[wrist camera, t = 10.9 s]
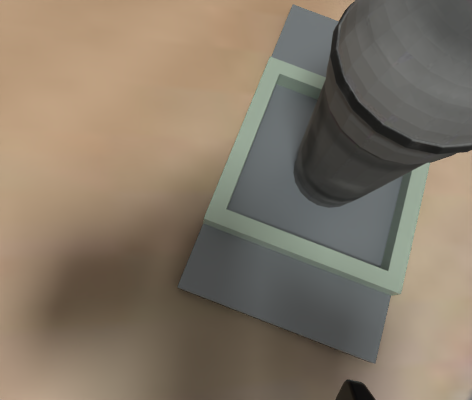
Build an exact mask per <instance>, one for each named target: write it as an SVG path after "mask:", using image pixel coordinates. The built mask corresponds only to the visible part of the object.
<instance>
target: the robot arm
mask: <svg viewBox="0 0 472 400" xmlns="http://www.w3.org/2000/svg"><path fill="white" fill-rule="evenodd" d="M335 400H375V398H374V397H373V395H372V394H371V393H370V391H369V390H368V388H367V387H366V386H365V385H364V384H363V383H362V382H358V381H353V380H346V381H345V382H344V384H343V386H342V388H341V389H340V391H339V393H338V395H337V397H336V399H335Z"/></svg>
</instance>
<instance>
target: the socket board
mask: <svg viewBox="0 0 472 400" xmlns="http://www.w3.org/2000/svg"><path fill="white" fill-rule="evenodd" d="M338 22H339V21H336V20H333V19H331V18H328V17H325V16H323V15H320V14H317V13H315V12H312V11H309V10H307V9H304V8H301V7H299V6H296V5H292V8H291V10H290V13H289V15H288V17H287V20H286V22H285V25H284V27H283V30H282V32H281V35H280V37H279V39H278V42H277V44H276V47H275V49H274V52H273V54H272V57H270V58H269V61H268V63H267V65H266V68H265V70H264V73H263V75H262V78H261V80H260V82H259V85H258V87H257V90H256V92H255V95H254V97H253V100H252V102H251V104H250V107H249V109H248V112H247V114H246V117H245V119H244V121H243V124H242V126H241V129H240V131H239V134H238V136H237V139H236V141H235V143H234V146H233V148H232V151H231V153H230V156H229V158H228V161H227V163H226V165H225V168H224V170H223V173H222V175H221V178H220V180H219V182H218V185H217V187H216V190H215V192H214V195H213V197H212V200H211V202H210V204H209V207H208V209H207V212H206V214H205V217H204V221H203V225H202V228H201V230H200V233H199V235H198V238H197V240H196V243H195V245H194V247H193V250H192V252H191V255H190V257H189V260H188V262H187V265H186V267H185V269H184V272H183V274H182V277H181V279H180V282H179V284H178V288H179V289H182V290H184V291H187V292H189V293H192V294H195V295H197V296H200V297H202V298H205V299H208V300H210V301H213V302H215V303H218V304H220V305H223V306H226V307H228V308H231V309H233V310H236V311H239V312H241V313H244V314H246V315H249V316H251V317H254V318H257V319H259V320H262V321H264V322H267V323H270V324H272V325H275V326H277V327H280V328H283V329H285V330H288V331H290V332H293V333H295V334H298V335H301V336H303V337H306V338H308V339H311V340H314V341H316V342H319V343H321V344H324V345H326V346H329V347H332V348H334V349H337V350H339V351H342V352H345V353H347V354H350V355H352V356H355V357H357V358H360V359H363V360H365V361H368V362H370V363H375V362H376V358H377V354H378V349H379V345H380V341H381V336H382V332H383V328H384V323H385V319H386V315H387V310H388V306H389V302H390V297H391V296H392V295H398V294H401V291H402V287H403V282H404V278H405V273H406V269H407V264H408V260H409V255H410V251H411V246H412V242H413V237H414V233H415V228H416V224H417V219H418V215H419V210H420V206H421V201H422V197H423V192H424V188H425V183H426V179H427V174H428V170H429V165H430V163H426V164H424V165H422V166H420V167H418V168H416V169H414V170H412V171H411V172H409V173H407V174H405V175H403V176H401V177H399V178H397V179H395V180H393V181H392V182H390V183H388V184H386V185H384V186H382V187H380V188H378V189H376V190H374V191H372V192H371V193H369V194H367V195H365V196H363V197H361V198H359V199H357V200H355V201H352V202H350V203H347V204H345V205H343V206H340V207H332V208H328V207H323V206H318V205H316V204H315V203H313V202H311V201H309V200H308V199H307V198H306V197H305V196H304V195H303V194H302V193H301V192H300V190H299V189H298V187H297V185H296V183H295V178H294V173H293V172H294V165H295V161H296V159H297V154H298V150H299V147H300V145H301V142H302V139H303V137H304V134H305V131H306V129H307V126H308V124H309V121H310V118H311V116H312V113H313V111H314V108H315V105H316V103H317V100H318V98H319V95H320V92H321V90H322V87H323V84H324V82H325V79H326V73H327V66H328V61H329V56H330V51H331V44H332V36H333V31H334V29H335V27H336V25H337V24H338Z"/></svg>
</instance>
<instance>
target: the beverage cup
mask: <svg viewBox="0 0 472 400" xmlns="http://www.w3.org/2000/svg"><path fill="white" fill-rule="evenodd" d="M470 150H472V0H355V2H353V3H352V4H351V5H350V6H349V7H348V8H347V9H346V10H345V12H344V13H343V15H342V17H341V19H340V20H339V22H338V24H337V25H336V27H335V29H334V31H333V36H332V44H331V51H330V56H329V61H328V66H327V73H326V79H325V82H324V84H323V87H322V90H321V92H320V95H319V98H318V100H317V103H316V105H315V108H314V111H313V113H312V116H311V118H310V121H309V124H308V126H307V129H306V131H305V134H304V137H303V139H302V142H301V145H300V147H299V150H298V154H297V159H296V161H295V165H294V172H293V173H294V178H295V183H296V185H297V187H298V189H299V190H300V192H301V193H302V194H303V195H304V196H305V197H306V198H307V199H308V200H309V201H311V202H313V203H315V204H316V205H318V206H323V207H328V208H332V207H340V206H343V205H345V204H347V203H350V202H352V201H355V200H357V199H359V198H361V197H363V196H365V195H367V194H369V193H371V192H372V191H374V190H376V189H378V188H380V187H382V186H384V185H386V184H388V183H390V182H392V181H393V180H395V179H397V178H399V177H401V176H403V175H405V174H407V173H409V172H411V171H412V170H414V169H416V168H418V167H420V166H422V165H424V164H426V163H431V162H434V161H437V160H440V159H443V158H446V157H449V156H452V155H454V154H456V153H460V152H468V151H470Z"/></svg>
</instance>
